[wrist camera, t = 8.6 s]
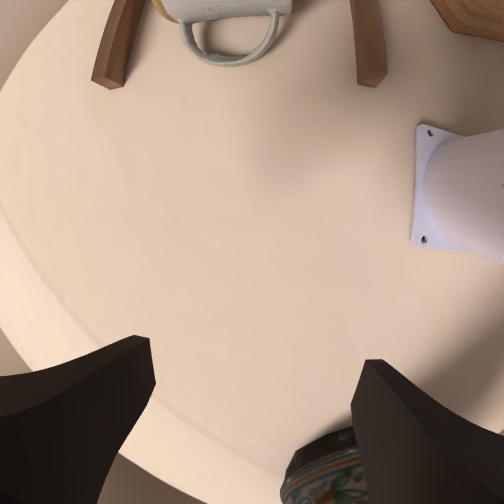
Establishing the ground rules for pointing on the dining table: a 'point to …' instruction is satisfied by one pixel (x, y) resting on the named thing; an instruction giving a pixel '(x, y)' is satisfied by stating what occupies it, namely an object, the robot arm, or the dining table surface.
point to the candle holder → (473, 17)
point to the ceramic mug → (222, 6)
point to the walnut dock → (128, 12)
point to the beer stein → (326, 472)
